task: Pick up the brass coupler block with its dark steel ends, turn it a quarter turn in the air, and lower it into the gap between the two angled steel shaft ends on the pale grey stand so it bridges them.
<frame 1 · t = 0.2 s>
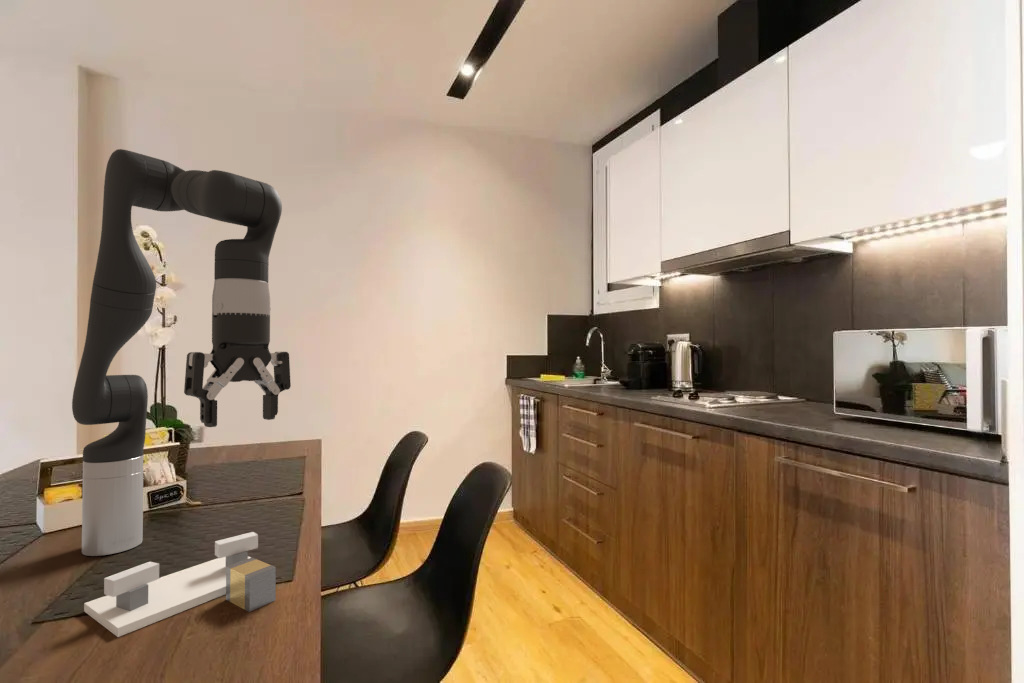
hand: (240, 422, 73), 27 cm above the table, fingers open, 8 cm apart
stand: (186, 591, 78), on the table
coupler: (250, 600, 76), on the table
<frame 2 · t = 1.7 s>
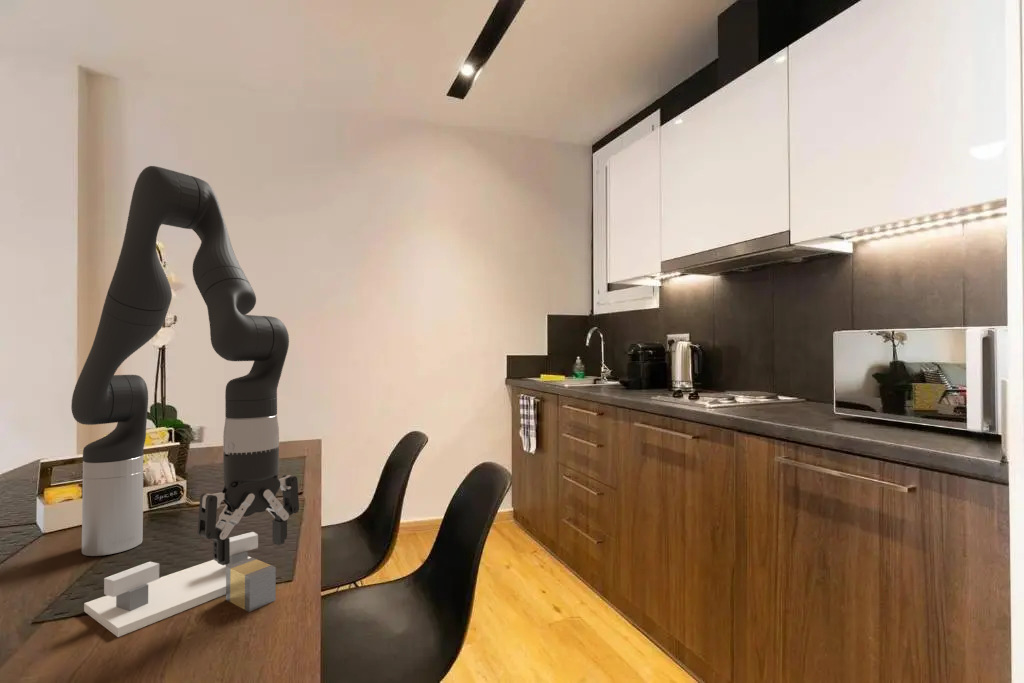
hand: (252, 553, 76), 7 cm above the table, fingers open, 8 cm apart
nothing on the table moved.
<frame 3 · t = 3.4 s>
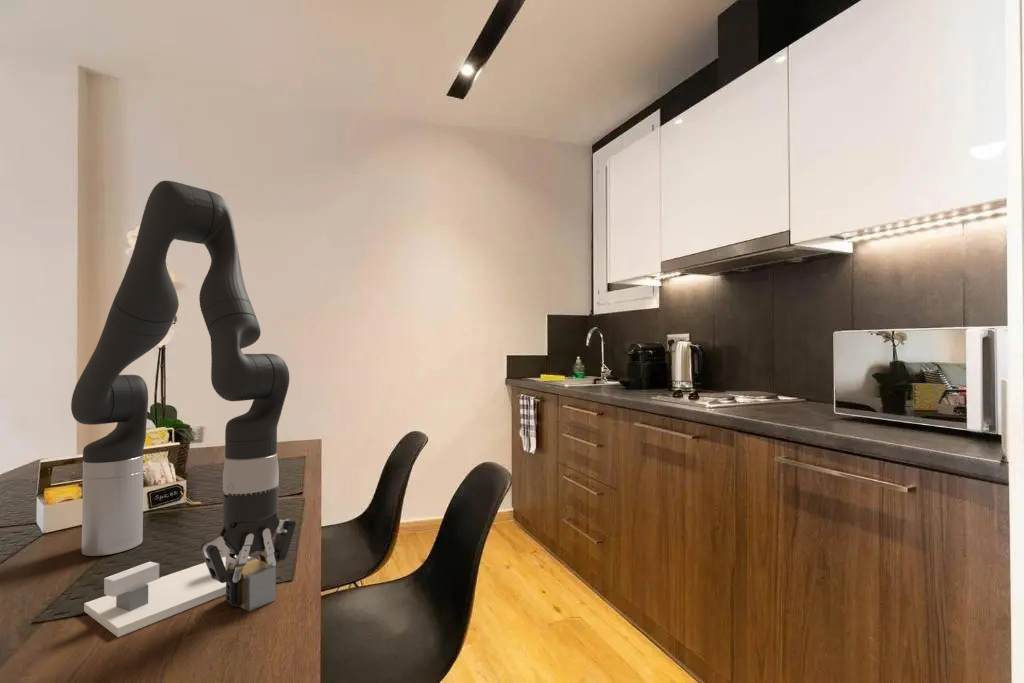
hand: (250, 597, 76), 0 cm above the table, fingers closed on coupler, 4 cm apart
coupler: (250, 599, 76), on the table, touching gripper
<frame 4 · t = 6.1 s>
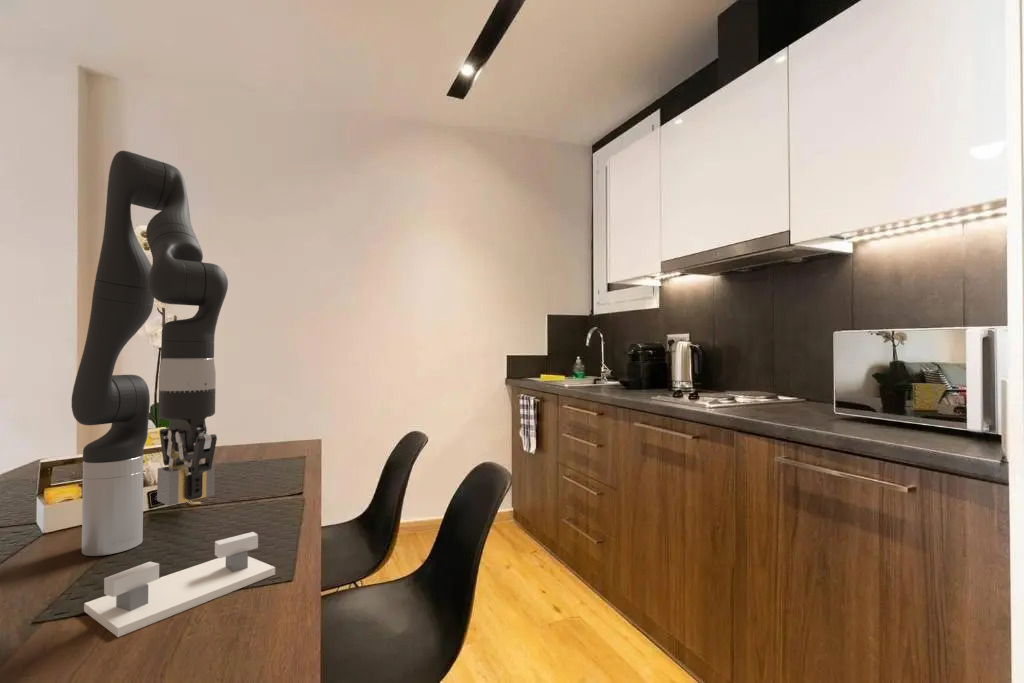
hand: (186, 495, 79), 15 cm above the table, fingers closed on coupler, 4 cm apart
coupler: (186, 497, 79), point 15 cm above the table, touching gripper
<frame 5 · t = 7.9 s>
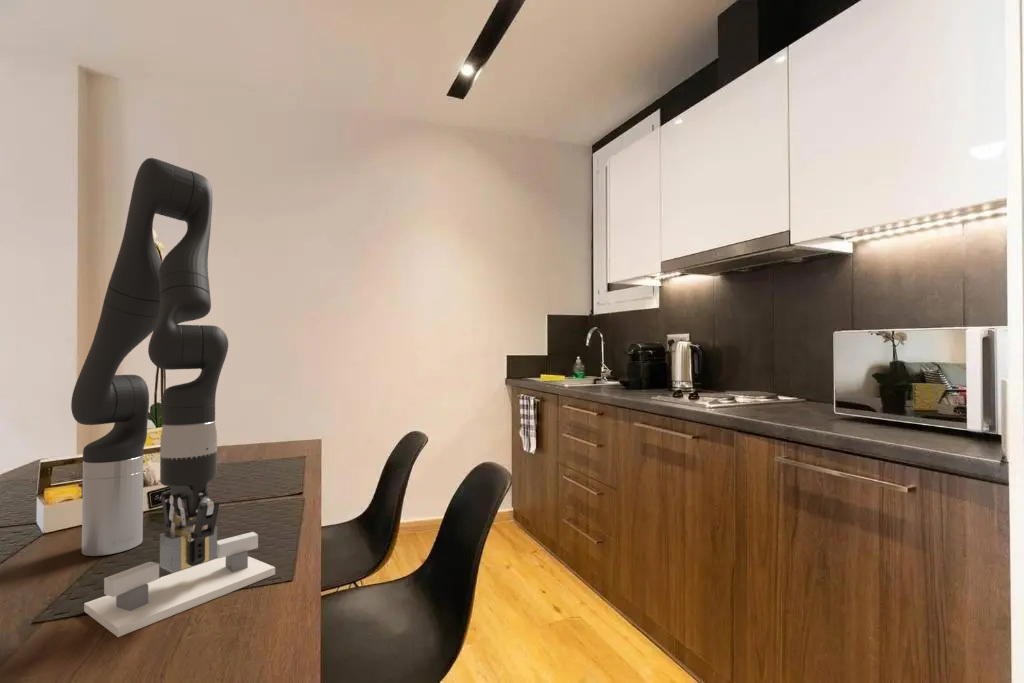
hand: (188, 560, 79), 5 cm above the table, fingers closed on coupler, 4 cm apart
coupler: (189, 562, 79), point 5 cm above the table, touching gripper
when the fingers open (3 cm above the table, at t = 9.1 s): coupler drops 1 cm, resting on stand.
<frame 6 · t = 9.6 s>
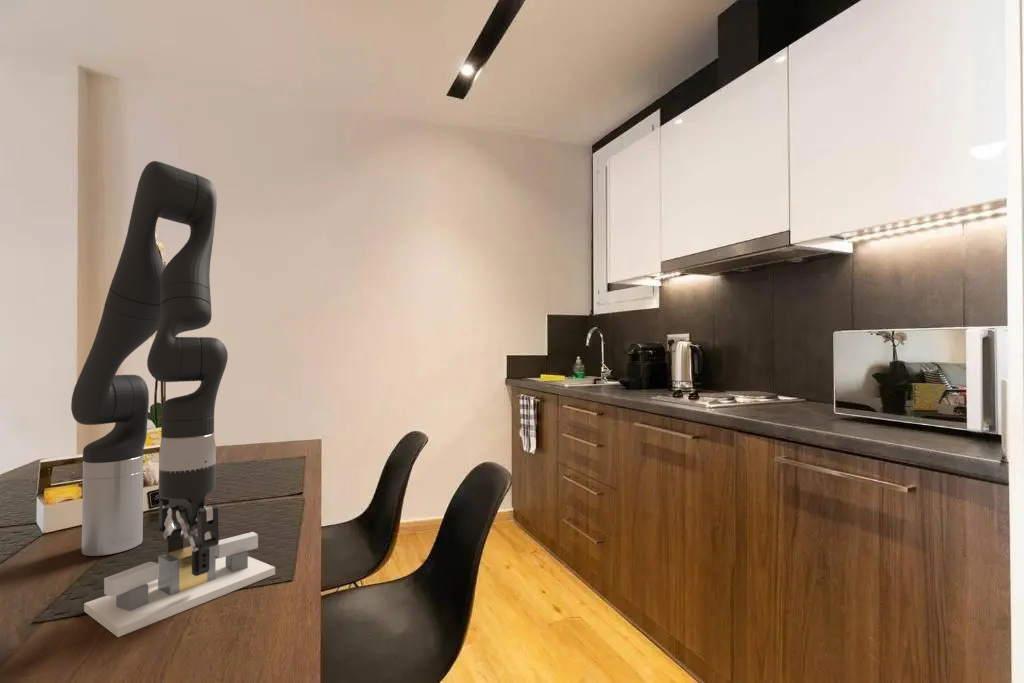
hand: (187, 567, 78), 4 cm above the table, fingers open, 8 cm apart
coupler: (187, 583, 78), point 1 cm above the table, touching stand
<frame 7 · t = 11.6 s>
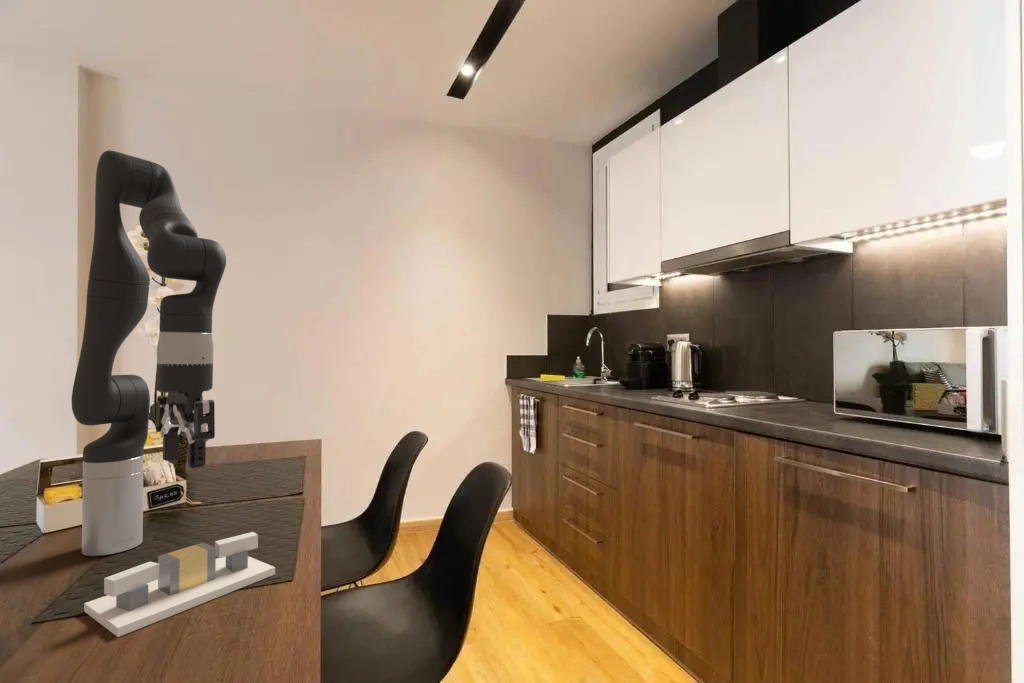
hand: (183, 463, 79), 20 cm above the table, fingers open, 8 cm apart
nothing on the table moved.
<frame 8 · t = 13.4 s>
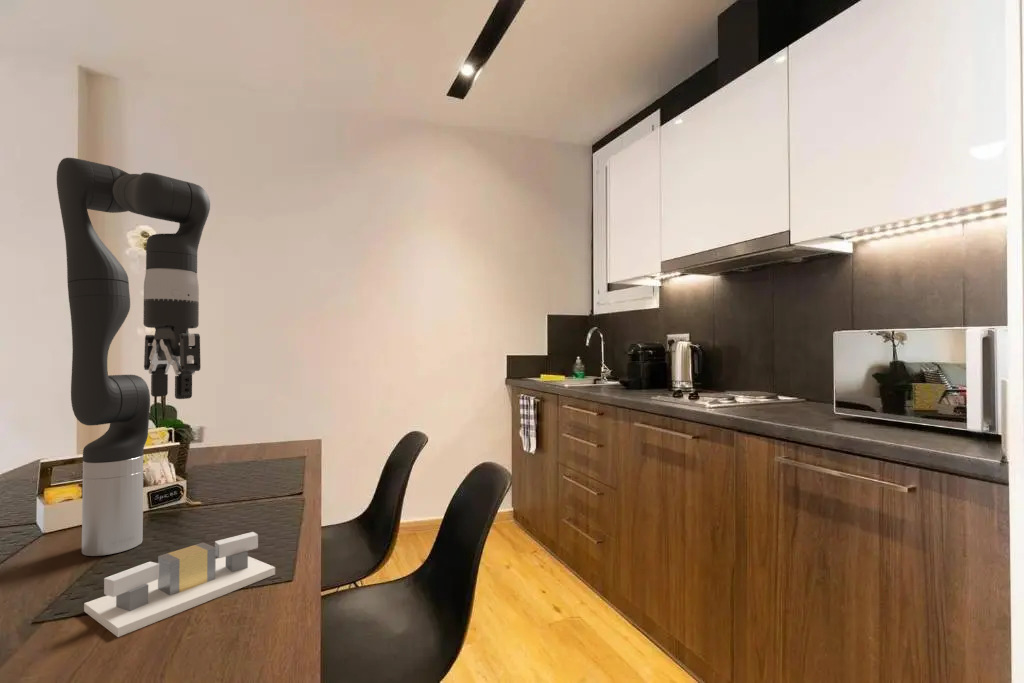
hand: (171, 397, 82), 30 cm above the table, fingers open, 8 cm apart
nothing on the table moved.
at the end: coupler 0.0 cm off-centre on the stand, point 1.2 cm above the stand's base; coupler tilted 0°; the gripper is holding nothing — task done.
